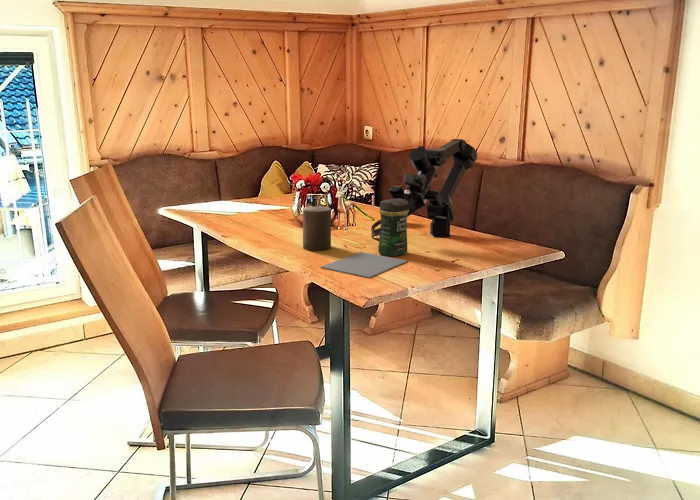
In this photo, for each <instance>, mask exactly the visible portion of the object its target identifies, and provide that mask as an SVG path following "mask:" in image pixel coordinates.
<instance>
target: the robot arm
mask: <svg viewBox="0 0 700 500" xmlns="http://www.w3.org/2000/svg"><path fill="white" fill-rule="evenodd" d="M408 157H409V161H410V162H411V164H412V166H413V168H414V169H415V171H417V174H415V173H412V174H411V173H405V174H404V178H403V181H402V183H403V184H405V185H406V189H405V190H404V188H403V186H399V185H398V186H397V185H392V186H391V187H390V188H389V190H388V192H389V194H390V195H391V197H392V199H396V198H401V199H405V200H407V201H408V203H409V212H408V216H407V218H408V217H410V216H411V215H412V214H414V213H415V212H416V211H418V210H419V209H421V208H422V207H426V212H427V218H428V219H431V222H430V223H429V224H430V225H429V229H430V230H429V234H430V235H432V236H433V238H441V237H442V238H445V237H452V234H451V222H453V221H454V220H455V216H456V213H455V211H454V210H453V202H452V198H453V196H454V194H455V192H456V190H457V188H458V186H459V184H460V182H461V180H462V179H463V176H464V173H465V172H466V171H467V170H468V169H471V168H472V167H473V166H474V164H475V163H476V161H477V159H478V152H477V150H476V149H475V147H474V146H472V145H470V144H469V143H467V141H466V140H464V139H463V138H462V139H461V138H453V139H451V140H450V141H448V142H446V143H445V144H443V145H441V146H440V147H437V148H429V149H428V148H427V149H426V148H425V146H424V145H418V147H417V148H415V149H413V150H411V152H409V154H408ZM450 157H452V160H453V165H452V168H451V169H450V171H449V173H448V175H447V177H446V178H445V179H446V180H445V181H444V183H443V185H442V187H441V189H440V191H439V190H432V186H431V184H432V182H433V179H434V178H438V173H437V169H436V168H437V167H439V168H441V167H443V166H444V164H446V163H447V159H448V158H450ZM435 167H436V168H435ZM428 201H429V202H428ZM427 202H428V203H427ZM426 203H427V205H426Z"/></svg>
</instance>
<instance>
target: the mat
mask: <svg viewBox="0 0 700 500" xmlns="http://www.w3.org/2000/svg"><path fill="white" fill-rule="evenodd" d="M408 261H409V260H406V259H400V258H395V257H392V256H384V255H381V254H374V253H369V252H363V251H359V252H357V253H355V254H352V255H349V256H346V257H343V258H341V259H338V260H335V261H332V262H330V263H327V264H325V265H321V266H320V269H324V270H327V271H333V272H338V273H342V274H343V273H344V274H347V275H351V276H352V275H353V276H356V277H362V278H365V279H370V278H374V277H376V276H378V275H380V274H383V273H385V272H387V271H390V270H392V269H395V268H396V267H399V266H402V265H403V264H406V263H408Z"/></svg>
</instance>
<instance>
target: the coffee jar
mask: <svg viewBox="0 0 700 500" xmlns="http://www.w3.org/2000/svg"><path fill="white" fill-rule="evenodd" d="M408 212H409V203H408V201H407V200H405V199H401V198H396V199H393V198H390V199H389V198H388V199H383V200H381V201H380V204H379V214H380V220H381V224H380V227H379V228H380V235H379V238H378V247H377V248H378V253H379V255H381V256H386V257H397V256H402V255H405V254H407V253H408V233H407V232H408V229H407V227H408V225H407V222H408V217H409V216H408ZM407 216H408V217H407Z"/></svg>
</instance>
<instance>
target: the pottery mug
mask: <svg viewBox="0 0 700 500" xmlns="http://www.w3.org/2000/svg"><path fill="white" fill-rule="evenodd" d="M378 226H381V219H379V220H377V221H375V222H374V223H373V224H372V225H371V228H370V230H371V235H370V236H371V238H372V239H374V238H375V237H378V236H380V227H379V228H377V227H378Z"/></svg>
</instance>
